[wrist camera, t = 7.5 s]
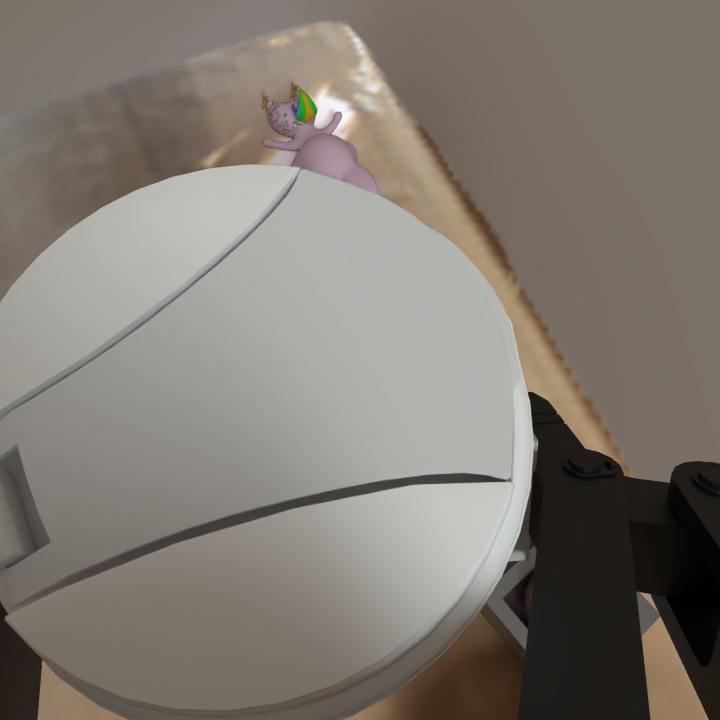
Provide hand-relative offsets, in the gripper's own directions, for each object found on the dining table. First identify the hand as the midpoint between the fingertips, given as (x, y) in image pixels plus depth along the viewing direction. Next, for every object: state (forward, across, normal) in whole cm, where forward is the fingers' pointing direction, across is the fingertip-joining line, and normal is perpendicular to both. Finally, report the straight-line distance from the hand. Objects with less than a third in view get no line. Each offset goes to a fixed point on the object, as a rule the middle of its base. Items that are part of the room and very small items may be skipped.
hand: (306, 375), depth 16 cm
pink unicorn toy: (+28, 0, +4) cm, 29 cm away
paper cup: (+1, 0, -6) cm, 6 cm away
